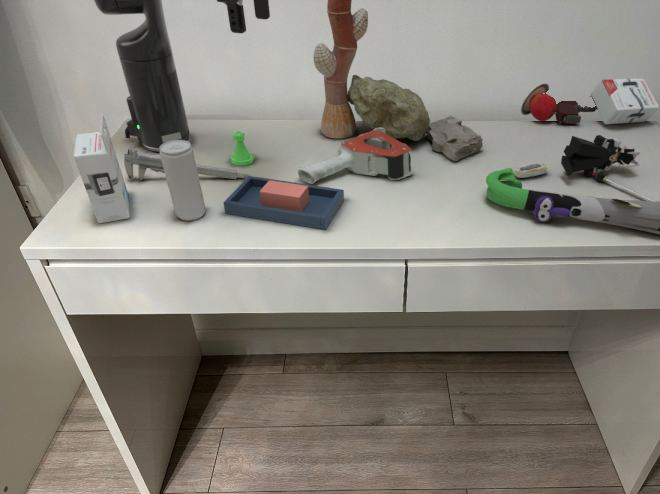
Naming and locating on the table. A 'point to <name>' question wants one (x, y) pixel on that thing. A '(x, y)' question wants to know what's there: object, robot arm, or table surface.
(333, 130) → the plant stem model
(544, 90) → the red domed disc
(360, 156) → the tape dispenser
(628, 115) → the ink box
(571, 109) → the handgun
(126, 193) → the product box
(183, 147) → the beverage can
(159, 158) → the caliper
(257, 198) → the tray
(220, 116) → the table surface
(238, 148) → the game piece
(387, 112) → the rock
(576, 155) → the toy
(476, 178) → the table surface
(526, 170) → the bacterium model
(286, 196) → the eraser
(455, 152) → the stone
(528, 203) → the toy
